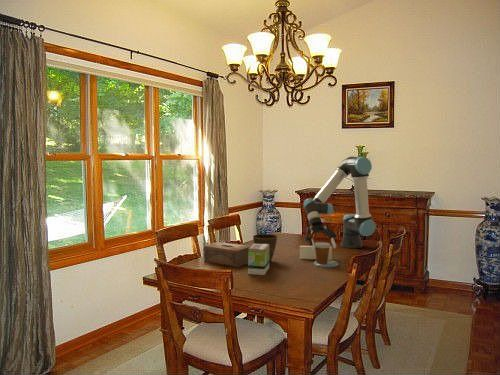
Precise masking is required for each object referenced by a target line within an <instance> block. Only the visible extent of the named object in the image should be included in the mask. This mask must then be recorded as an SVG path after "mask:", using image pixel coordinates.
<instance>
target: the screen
mask: <svg viewBox="0 0 500 375" xmlns="http://www.w3.org/2000/svg"><path fill="white" fill-rule="evenodd" d="M332 258H333V246H330V248H329V254H328V260H332V261H333V259H332ZM299 259H300V260H316V251H315V250H314V251H313V249H312V246H311V245H300V246H299Z"/></svg>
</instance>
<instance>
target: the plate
mask: <svg viewBox="0 0 500 375" xmlns="http://www.w3.org/2000/svg"><path fill="white" fill-rule="evenodd" d="M339 265H340V263H339V262H338V261H336V260H333V259H332V260H328V261H327V264H318V263H317V260H314V261H313V266H316V267H319V268H336V267H339Z"/></svg>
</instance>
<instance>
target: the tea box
mask: <svg viewBox="0 0 500 375" xmlns="http://www.w3.org/2000/svg"><path fill="white" fill-rule="evenodd" d="M250 246H251V247H250V248H249V249H248V263H247V264H248V265H247V274H248V275H256V276H257V275H258V276H265V275H266V274H267V272H268V270H269V269H270V262H269V244H254V243H253V244H251V245H250Z"/></svg>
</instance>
